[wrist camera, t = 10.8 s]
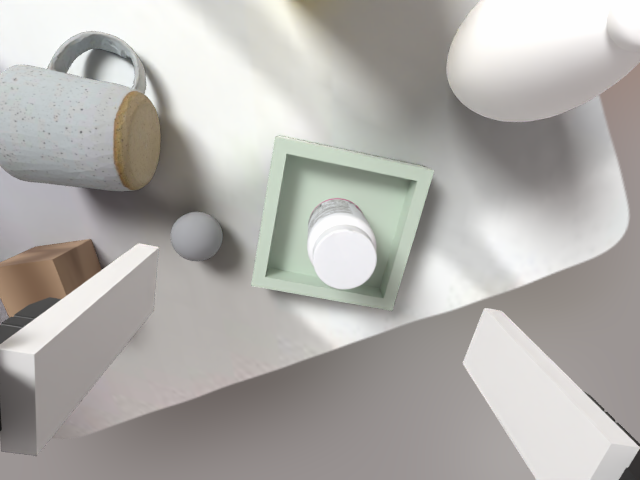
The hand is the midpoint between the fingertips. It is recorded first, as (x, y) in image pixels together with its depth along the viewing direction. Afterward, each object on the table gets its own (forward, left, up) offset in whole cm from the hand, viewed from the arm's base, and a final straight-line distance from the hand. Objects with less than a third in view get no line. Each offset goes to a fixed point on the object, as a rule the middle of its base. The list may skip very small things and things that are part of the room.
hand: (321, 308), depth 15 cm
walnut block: (-20, -10, -18) cm, 28 cm away
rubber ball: (-9, -4, -15) cm, 18 cm away
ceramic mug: (-17, +4, -18) cm, 25 cm away
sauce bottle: (+10, +13, -18) cm, 24 cm away
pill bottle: (+2, -1, -17) cm, 17 cm away
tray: (+2, -1, -17) cm, 18 cm away
